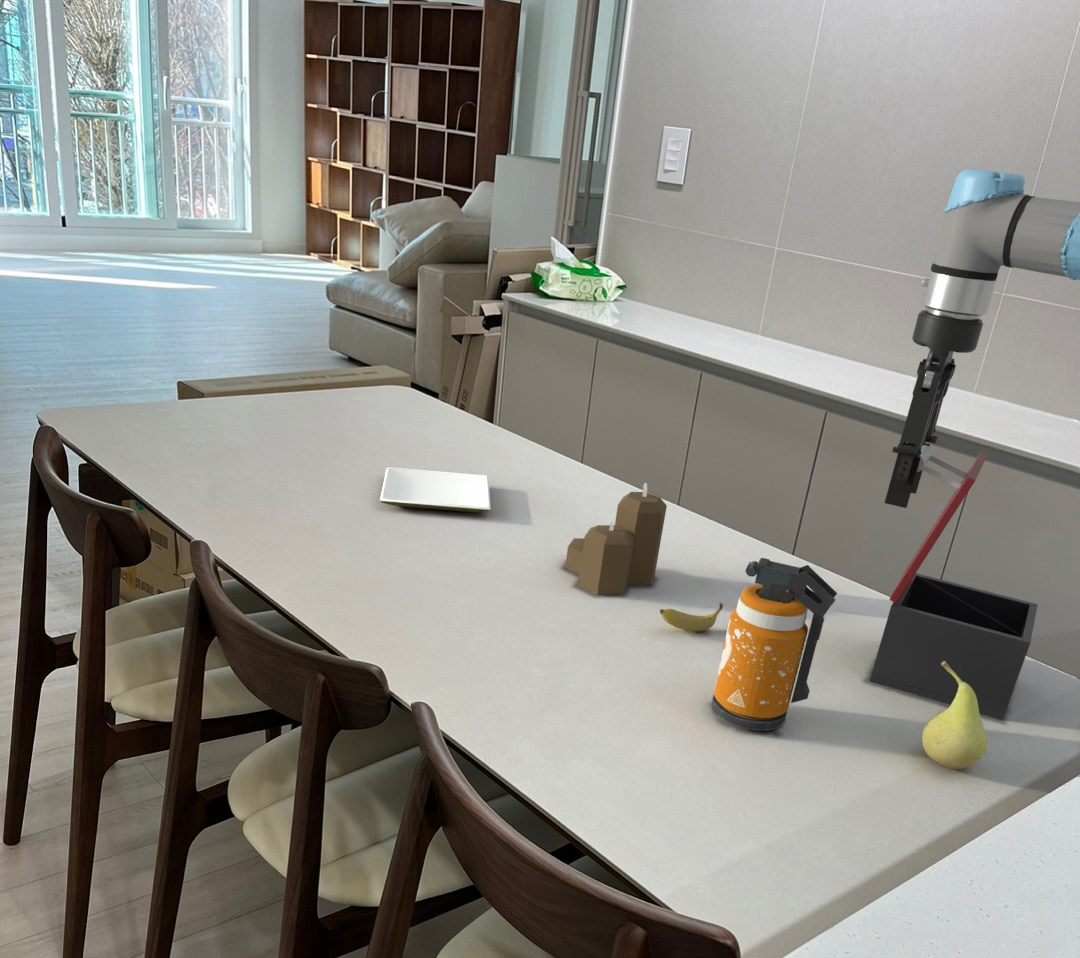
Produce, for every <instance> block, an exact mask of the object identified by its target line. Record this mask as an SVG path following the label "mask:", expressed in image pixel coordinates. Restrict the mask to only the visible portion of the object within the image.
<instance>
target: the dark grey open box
mask: <svg viewBox="0 0 1080 958" xmlns="http://www.w3.org/2000/svg"><path fill="white" fill-rule="evenodd" d="M1038 606H1039V604H1038V603H1035V602H1030V601H1027V600H1022V599H1019V598H1015V597H1012V596H1008V595H1002V594H1000V593H995V592H991V591H989V590H988V591H987V590H984V589H980V588H976V587H972V586H968V585H964V584H959V583H956V582H953V581H949V580H945V579H944V580H943V579H942V578H941V579H940V578H936V577H932V576H927V575H925V574H921V573H917V572H916V573H915V575H914V576H913V578H912V580H911V581H910V583H909V584H908V586H907V587H906V589H905V590H904V592H903V593H902V595H901V597H900V598H899V600H898V601H897V603H894V602H893V601H892V603H891V606H890V608H889V612H888V616H887V619H886V622H885V626H884V629H883V632H882V636H881V640H880V642H879V647H878V650H877V654H876V657H875V660H874V663H873V668H872V671H871V673H870V674H871V675H870V677H869V682H872V683H875V684H879V685H882V686H886V687H888V688H893V689H896V690H898V691H899V690H900V691H902V692H906V693H909V694H912V695H916V696H919V697H923V698H926V699H929V700H933V701H936V702H939V703H942V704H946V705H949V706H951V704H952V702H953V700H954V699H955V696H956V694H957V692H958V687H959V684H958V682H957V680H956V679H955V678H954V677H953V675H952V674H951V673H949V672H948V671H947V670H946V669H945V668H944V667H943V666H942V665H941V663H942V662H943V661H945V662H946V663H947V664H948V665H949V667H950V668H951V669H952V670H953V671H954V672H955V673H956V675H957V676H958V677H959V678H960V679H961V681H963V682H965V683H967V684H969V686H970V687H971V688H972V689H973V691H974V693H975V695H976V698H977V702H978V709H979V713H980V715H985V716H986V717H987V716H988V717H991V718H994V719H998V720H1001V721H1003V720H1004V716H1005V714H1006V712H1007V709H1008V706H1009V703H1010V701H1011V698H1012V695H1013V692H1014V690H1015V687H1016V685H1017V681H1018V679H1019V676H1020V673H1021V671H1022V667H1023V665H1024V662H1025V660H1026V657H1027V653H1028V652H1029V649H1030V646H1031V642H1032V639H1033V638H1032V637H1033V632H1034V627H1035V622H1036V618H1037V617H1036V616H1037V611H1038Z"/></svg>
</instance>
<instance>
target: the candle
mask: <svg viewBox="0 0 1080 958" xmlns="http://www.w3.org/2000/svg"><path fill="white" fill-rule="evenodd" d="M666 513H667V504H666V503H665V502H664V501H663V499H662V498H661V497H660V496H658V495H655V494H653V493H650V492H648V483H647V482H644V483H643V485H642V491H630V492H629V493H627V494H626V495H624V496H622V497H621V499H620V501H619V502H618V504H617V508H616V513H615V514H616V515H615V520H614V521H615V522H614V521H613V520H610V522H609V524H603V525H602V524H597V525H594V526H592V527H590V528H589V529H588V531H587V532H586V533H585V535H584V538H579V537H578V538H577V537H576V538H575V537H574V538H573V539H572V540H571V541H570V543H569V544H568V546H567V550H566V558H565V559H566V560H565V566H564V568H565V569H567V570H569V571H571V572H574V573H576V574H578V582H577V586H578V587H579V588H582V589H584V590H586V591H588V592H591V593H593V594H595V595H597V596H603V595H604V596H609V595H610V596H611V595H612V596H615V595H621V596H622V595H624V592H625V590H626V588H627V587H628V586H630V587H631V586H632V587H633V586H634V587H635V586H636V587H637V586H638V587H639V586H642V587H643V586H651V585H652V583H653V581H654V579H655V576H656V571H657V565H658V560H659V559H658V558H659V555H660V547H661V542H662V537H663V536H662V535H663V531H664V525H665V519H666Z"/></svg>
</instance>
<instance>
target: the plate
mask: <svg viewBox="0 0 1080 958" xmlns="http://www.w3.org/2000/svg"><path fill="white" fill-rule="evenodd" d="M384 473H385V474H384V479H383V484H382V488H381V493H380V497H379V502H380V503H382V504H386V505H390V506H395V507H399V508H400V507H401V508H409V509H410V508H412V509H423V510H425V509H426V510H434V511H435V510H437V511H449V512H458V513H459V512H460V513H470V514H471V513H472V514H473V513H486V512H487V513H488V512H490V511H491V509H492V507H491V506H492V505H491V493H490V480H489V479H490V477H489V476H488V475H485V474H474V473H473V474H472V473H464V472H463V473H461V472H449V471H438V470H429V469H428V470H426V469H417V468H416V469H415V468H406V467H405V468H404V467H394V466H389V467H386V470H385V472H384Z"/></svg>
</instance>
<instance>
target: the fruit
mask: <svg viewBox="0 0 1080 958" xmlns="http://www.w3.org/2000/svg"><path fill="white" fill-rule="evenodd" d="M941 665H942V666H943V667H944V668H945V669H946V670H947V671H948V672H949V673H951V674H952V675H953V677H954V678H955V679H956V680H957V682H958V684H959V687H958V692H957V694H956V696H955V699H954V700H953V702H952V704H951V705H949V707H948V708H946V709H944V710H942V711H940V712H938V713H935V714H934V715H932V717H931V718H929V720H928V721H927V722H926V724H925V726H924V729H923V732H922V734H921V735H922V737H921V740H922V746H923V749H924V751H925V753H926V755H927V756H928V757H929V758H930V759H932V760H933V761H934V762H936V764H939V765H941V766H943V767H945V768H948V769H951V770H952V769H953V770H961V769H963V770H964V769H966V768H969V767H972V766H973V765H975V764H976V763H977V762H978V761H980V759H982V757H983V755H984V754H985V752H986V750H987V747H988V734H987V731H986V729H985V727H984V724H983V722H982V717H981V714H980V713H979V709H978V702H977V698H976V695H975V693H974V691H973V689H972V688H971V687H970V686H969V684H967V683H965V682H963V681H961V679H960V678H959V677H958V676H957V675H956V673H955V672H954V671H953V670H952V669H951V668H950V667H949V665H948V664H947V663H946V662H945V661H943V662H942V663H941Z"/></svg>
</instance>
